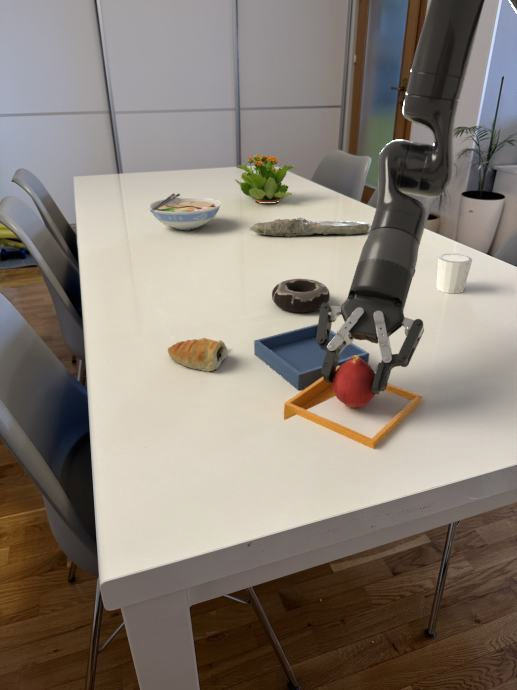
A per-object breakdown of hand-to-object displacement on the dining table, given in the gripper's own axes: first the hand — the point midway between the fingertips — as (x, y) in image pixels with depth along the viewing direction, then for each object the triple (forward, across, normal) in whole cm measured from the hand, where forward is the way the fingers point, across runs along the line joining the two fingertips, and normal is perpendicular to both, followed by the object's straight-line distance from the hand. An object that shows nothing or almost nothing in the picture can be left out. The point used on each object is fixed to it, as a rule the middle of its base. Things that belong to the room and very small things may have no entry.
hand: (351, 386), depth 65 cm
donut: (-21, -22, +29) cm, 42 cm away
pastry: (0, -27, +8) cm, 28 cm away
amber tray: (+3, 0, +5) cm, 6 cm away
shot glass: (-36, +4, +45) cm, 58 cm away
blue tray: (-5, -11, +13) cm, 18 cm away
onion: (+2, 0, +4) cm, 5 cm away
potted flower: (-83, -74, +93) cm, 145 cm away
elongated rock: (-58, -41, +67) cm, 97 cm away
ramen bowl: (-51, -80, +60) cm, 112 cm away
